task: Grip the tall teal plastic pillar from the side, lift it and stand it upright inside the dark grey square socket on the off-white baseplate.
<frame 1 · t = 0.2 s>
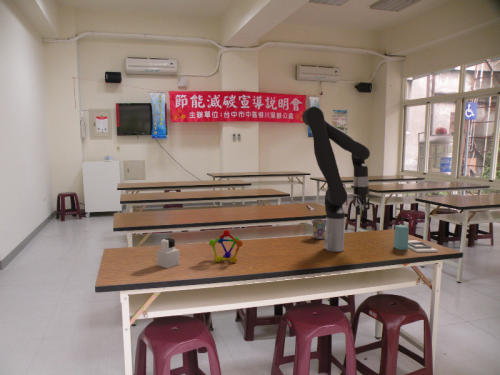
hand: (361, 216, 182), 18 cm above the table, tool pointing down, fingers open, 8 cm apart
mug: (317, 237, 209), on the table
educational toy: (225, 260, 166), on the table
pillar: (400, 248, 186), on the table
baseplate: (418, 247, 186), on the table
grey block with knob: (168, 265, 159), on the table
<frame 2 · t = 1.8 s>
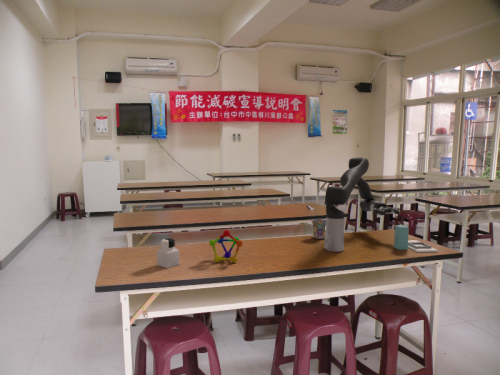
hand: (391, 212, 196), 17 cm above the table, tool horizontal, fingers open, 8 cm apart
nothing on the table moved.
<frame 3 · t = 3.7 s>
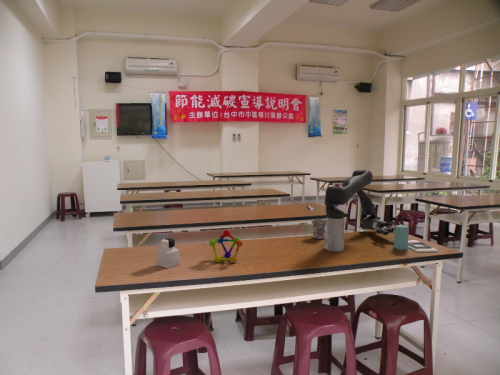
hand: (394, 233, 192), 6 cm above the table, tool horizontal, fingers open, 8 cm apart
nothing on the table moved.
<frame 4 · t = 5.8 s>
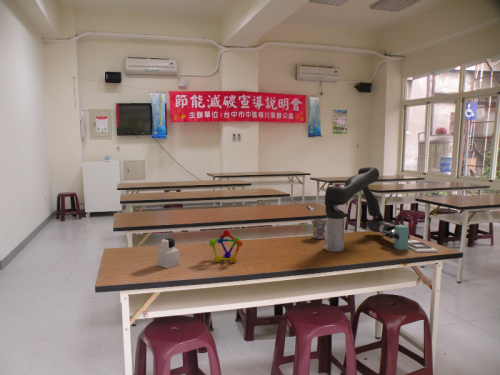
hand: (403, 237, 182), 7 cm above the table, tool horizontal, fingers closed on pillar, 5 cm apart
pillar: (400, 248, 186), on the table, touching gripper
everything else where it was.
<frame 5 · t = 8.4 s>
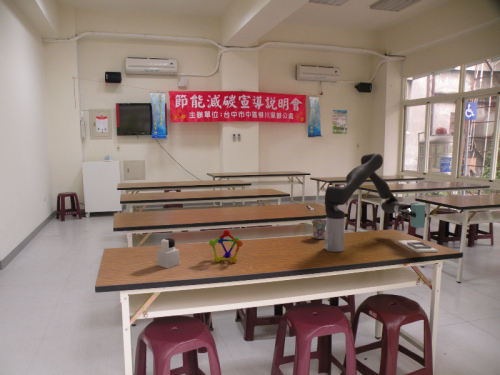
hand: (420, 215, 182), 18 cm above the table, tool horizontal, fingers closed on pillar, 5 cm apart
pillar: (417, 226, 185), point 12 cm above the table, touching gripper
everything else where it was.
when the fingers open (9 cm above the table, at t = 11.2 s): pillar drops 1 cm, resting on baseplate.
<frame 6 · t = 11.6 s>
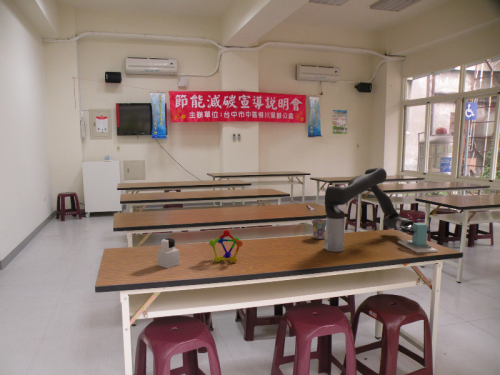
hand: (421, 232, 183), 9 cm above the table, tool horizontal, fingers open, 8 cm apart
pillar: (418, 246, 186), point 1 cm above the table, touching baseplate
everything else where it was.
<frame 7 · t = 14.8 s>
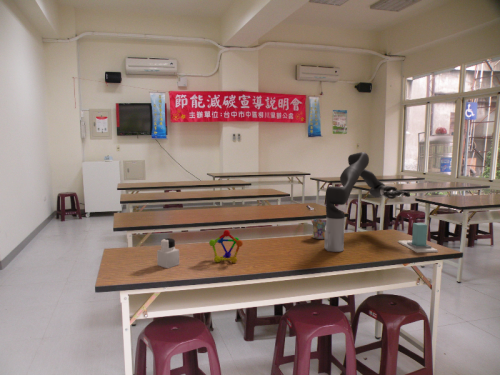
hand: (401, 195, 197), 27 cm above the table, tool horizontal, fingers open, 8 cm apart
nothing on the table moved.
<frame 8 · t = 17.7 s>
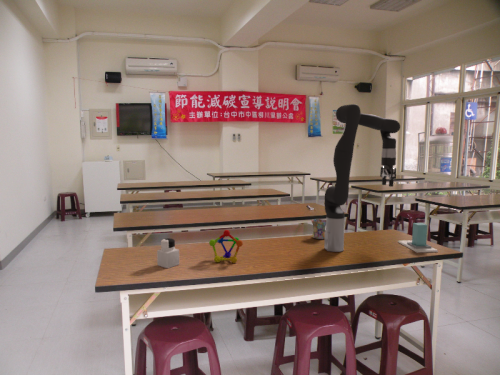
hand: (387, 185, 196), 32 cm above the table, tool pointing down, fingers open, 8 cm apart
nothing on the table moved.
at the end: pillar 0.0 cm off-centre on the baseplate, point 1.0 cm above the baseplate's base; pillar tilted 0°; the gripper is holding nothing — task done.
